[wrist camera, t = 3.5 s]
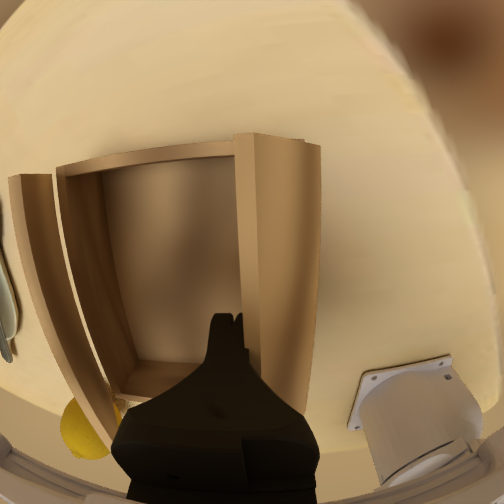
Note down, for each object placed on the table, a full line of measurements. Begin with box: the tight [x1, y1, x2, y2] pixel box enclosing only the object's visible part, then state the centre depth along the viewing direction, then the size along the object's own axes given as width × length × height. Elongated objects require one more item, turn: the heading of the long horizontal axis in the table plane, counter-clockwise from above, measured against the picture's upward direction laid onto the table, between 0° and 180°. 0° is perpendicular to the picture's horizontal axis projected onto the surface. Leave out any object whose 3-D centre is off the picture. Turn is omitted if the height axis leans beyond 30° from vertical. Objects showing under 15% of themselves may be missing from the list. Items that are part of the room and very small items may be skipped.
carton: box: [56, 139, 304, 402], centre depth 15 cm, size 12×15×4 cm
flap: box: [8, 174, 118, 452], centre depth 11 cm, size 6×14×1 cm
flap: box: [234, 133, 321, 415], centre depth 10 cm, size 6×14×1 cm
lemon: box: [60, 397, 122, 460], centre depth 18 cm, size 6×6×8 cm
